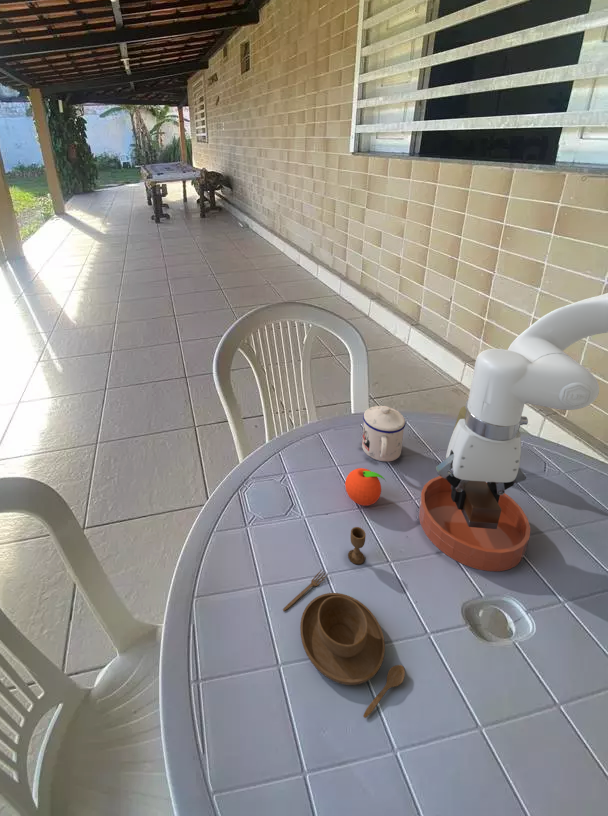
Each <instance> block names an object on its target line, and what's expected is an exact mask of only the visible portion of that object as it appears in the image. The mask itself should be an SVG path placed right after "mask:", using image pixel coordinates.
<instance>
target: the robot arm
mask: <svg viewBox="0 0 608 816" xmlns="http://www.w3.org/2000/svg"><path fill="white" fill-rule="evenodd" d="M600 334H608V292H606V293H603V294H600V295H596V296H592V297H588V298H585V299H581V300H578V301H575V302H572V303H570V304H567V305H563V306H560V307H558V308H555V309H553V310H552V311H550V312H548V313H546V314H544V315H542V316H541V317H539V319H537V320H536V321H534V322H533V323H532V324H531V325H530V326H529V327H527V328H526V329H525V330H523V332H521V333H520V334H519V335H518V336H517V337H516V338H515V339H514V340H513V341H512V342H511V343H510V345H509V347H508V348H507V349H505V348H488V349H484V350H482V351H481V352H479V354H478V355H477V356H476V358H475V363H474V368H473V371H472V372H473V373H472V378H471V384H470V389H469V394H468V399H467V400H468V404H467V409H466V414H465V419H460V420H459V421H458V423H457V425H456V427H455V426H454V427H455V429H454V428H453V430H454V431H452V433H453V434H451V437H450V439H449V442H448V446H447V450H446V455H445V459H444V460H443V461H441V462H440V463H439V464H438V465H436V466H435V471H436V474H437V475H438V476H441V477H443V478H444V479H446V480H447V481H448V482H449V483H450V484H451V485H452V486H453V487H452V492H451V498H452V500H453V502H455V503H456V505H457V507H458V509H459V510H462V509H463V506H464V502H465V497H466V492H465V490H464V488H465V487H466V485H467V483H468V481H469V480H470V481H484V482H487V485H488V487H489V489H490V490H491V492H492V494H493V496H494V497H495V499H496V501H497V503H498V502H499V498H500V495H503V494H504V493H505V494H506V492H505V491H506V490H508V489H510V488H512V487H513V486H515V484H518V483H521V482H524V481H526V479H527V476H526V475H525V473H524V472H523V471H522V469H521V468H520V463H521V457H522V455H521V454H522V437H521V432H520V428H521V426H524V425H528V423H529V419H528V417H527V416H525V415H523V412H524V408H525V405H526V404H528V405H534V406H538V407H539V406H540V407H543V408H550V409H554V410H561V411H573V410H579V409H580V410H581V409H583V408H586V407H588V406H590V405H591V404H593V403H594V402H595V401H596V400H597V398H598V397H599V394H600V385H599V381H598V380H597V378H596V377H595V376H594V374H593V373H592V372H591V371H589V369H587V368H586V367H585V366H583V364H581V363H579V362H578V361H576V360H575V359H574V358H573V357H571V356H570V355H569V354H568V353H566V352H564V351H565V350H566V349H567V348H569V347H570V346H572V345H574V344H575V343H577V342H579V341H581V340H583V339H586V338H589V337H592V336H595V335H600ZM451 470H452V471H453V472H452V471H451Z"/></svg>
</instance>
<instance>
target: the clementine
mask: <svg viewBox="0 0 608 816" xmlns="http://www.w3.org/2000/svg"><path fill="white" fill-rule="evenodd" d="M379 478H380V479H383V480H384V481H386V479H385V477H384V476H382V475H381V474H380V473H377V472H376V471H372V470H371V469H368V468H364V467H359V468H355V469H353V470H351V471H349V473H348V474H347V476H346V478H345V482H344V486H345V487H344V488H345V492H346V494H347V496H348V497H349V498H350V499H351V501H353V502H354V503H355V504H357V505H360V506H363V507H364V506H365V507H366V506H371V505H374V504H375V503H377V501H378V500H379V499H380V497H381V495H382V484H381V481H380V479H379Z"/></svg>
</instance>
